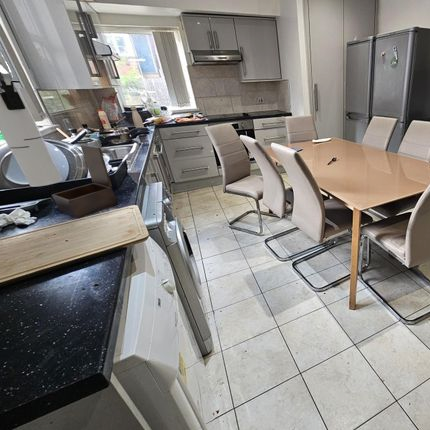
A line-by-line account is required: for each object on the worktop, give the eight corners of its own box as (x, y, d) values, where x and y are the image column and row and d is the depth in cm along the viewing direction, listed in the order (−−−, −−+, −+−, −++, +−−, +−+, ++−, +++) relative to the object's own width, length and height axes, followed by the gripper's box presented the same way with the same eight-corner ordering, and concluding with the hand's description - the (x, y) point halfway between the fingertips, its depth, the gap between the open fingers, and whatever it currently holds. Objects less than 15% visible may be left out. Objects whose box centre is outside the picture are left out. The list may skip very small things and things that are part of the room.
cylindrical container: (66, 180, 80) (22, 87, 69) (34, 188, 75) (-19, 89, 64) (57, 177, 84) (14, 88, 73) (26, 184, 78) (-26, 89, 67)
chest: (77, 218, 92) (68, 200, 89) (60, 211, 98) (51, 194, 95) (118, 204, 102) (111, 187, 99) (100, 198, 108) (93, 182, 105)
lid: (98, 147, 93) (113, 146, 97) (80, 145, 99) (95, 143, 103) (110, 186, 99) (124, 183, 102) (92, 182, 105) (106, 179, 108)
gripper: (-65, 30, 64) (-20, 110, 72) (-45, 20, 56) (3, 111, 64) (-19, 34, 70) (18, 107, 78) (5, 25, 62) (43, 108, 70)
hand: (11, 108), depth 71 cm, fingers closed on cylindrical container, 7 cm apart
